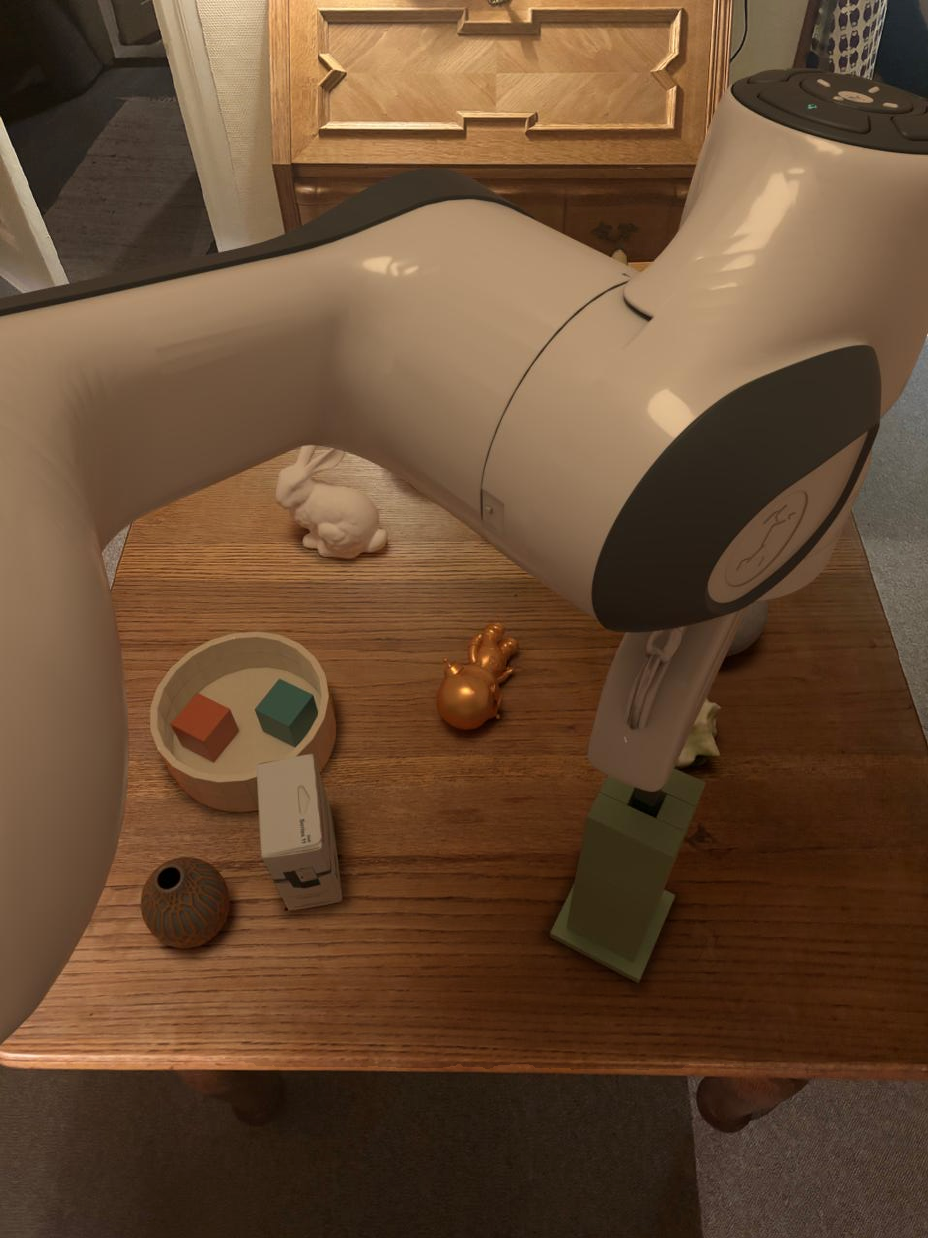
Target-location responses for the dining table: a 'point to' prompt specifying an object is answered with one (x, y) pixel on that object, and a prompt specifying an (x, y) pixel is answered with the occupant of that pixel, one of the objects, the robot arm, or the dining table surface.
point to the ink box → (298, 832)
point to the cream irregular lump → (701, 738)
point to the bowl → (239, 714)
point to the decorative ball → (750, 627)
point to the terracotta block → (205, 727)
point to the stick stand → (626, 873)
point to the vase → (185, 902)
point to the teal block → (287, 712)
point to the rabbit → (329, 507)
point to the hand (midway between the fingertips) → (681, 681)
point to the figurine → (476, 680)
